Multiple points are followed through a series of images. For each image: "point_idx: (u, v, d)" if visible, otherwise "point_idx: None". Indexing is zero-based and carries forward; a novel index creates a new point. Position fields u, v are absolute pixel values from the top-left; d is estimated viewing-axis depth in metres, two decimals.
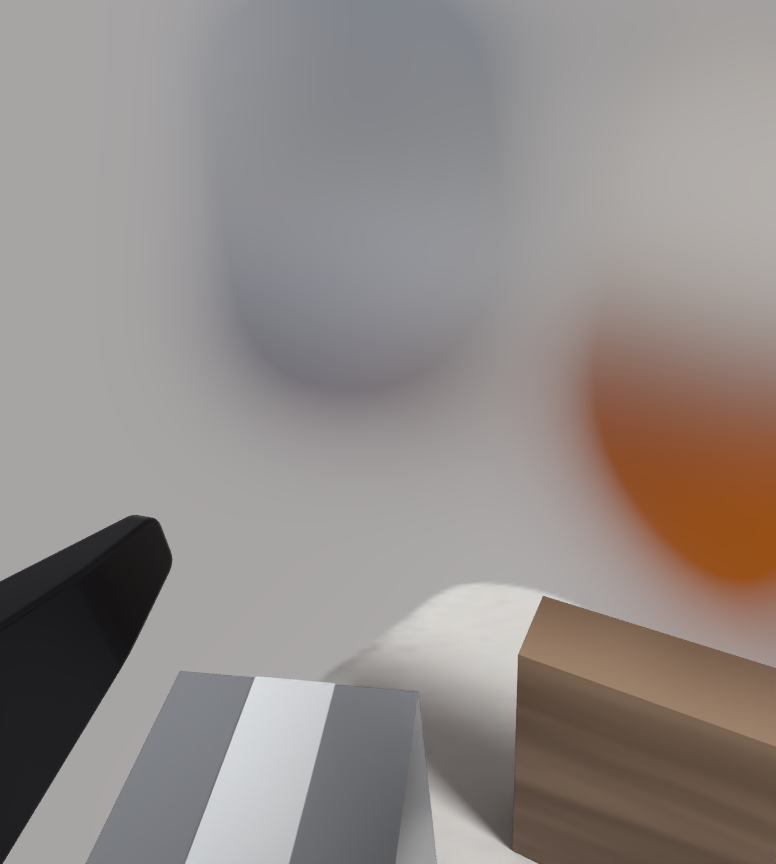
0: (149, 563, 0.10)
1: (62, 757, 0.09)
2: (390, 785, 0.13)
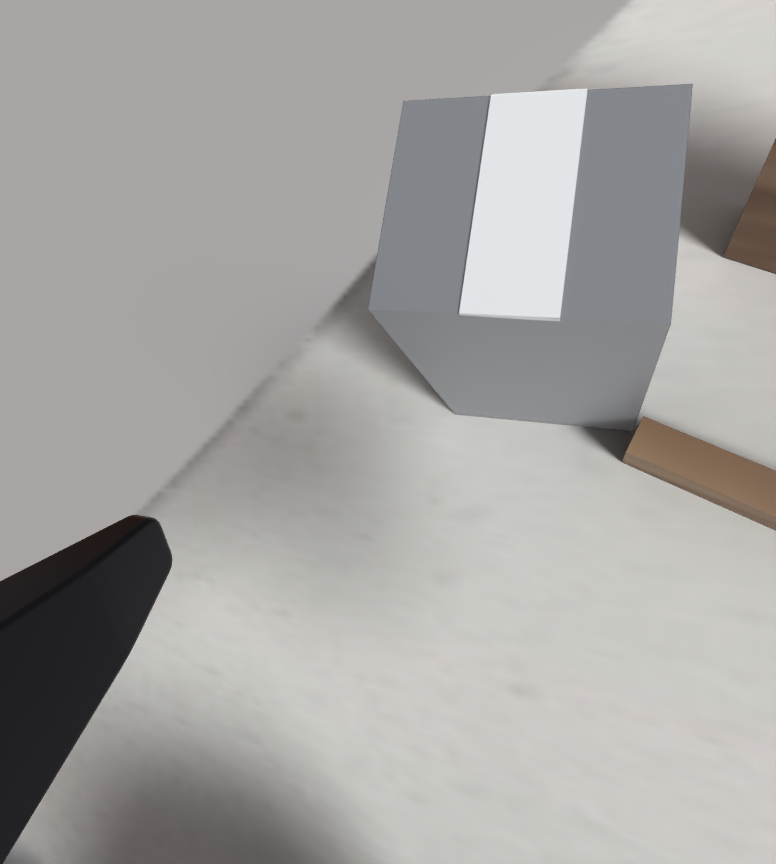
0: (149, 563, 0.10)
1: (62, 757, 0.09)
2: (665, 185, 0.13)
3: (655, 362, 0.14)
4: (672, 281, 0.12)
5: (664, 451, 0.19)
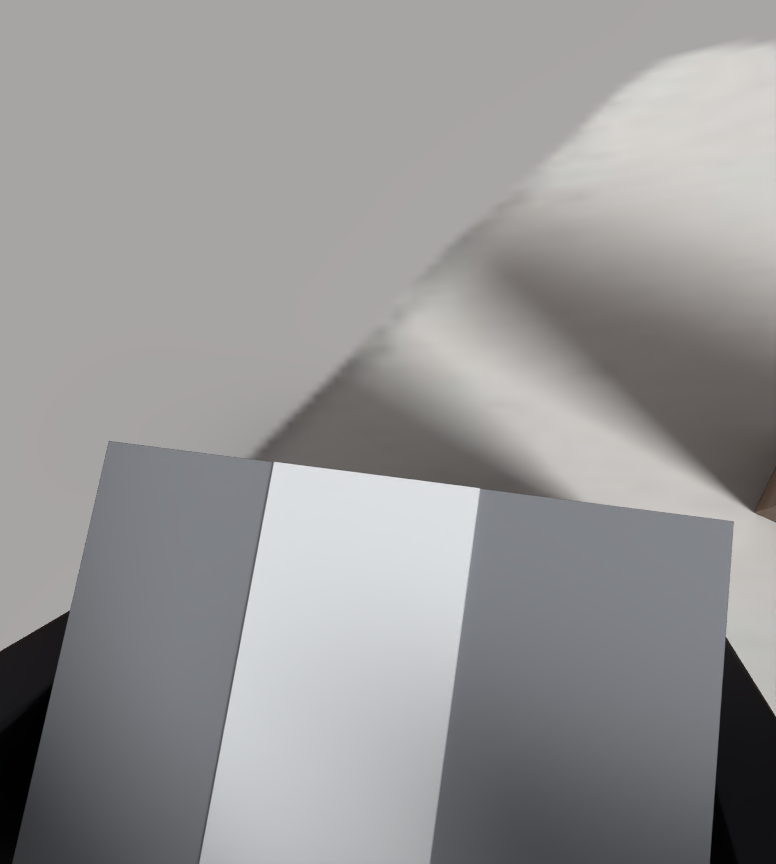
0: None
1: None
2: (666, 811, 0.05)
3: None
4: None
5: None
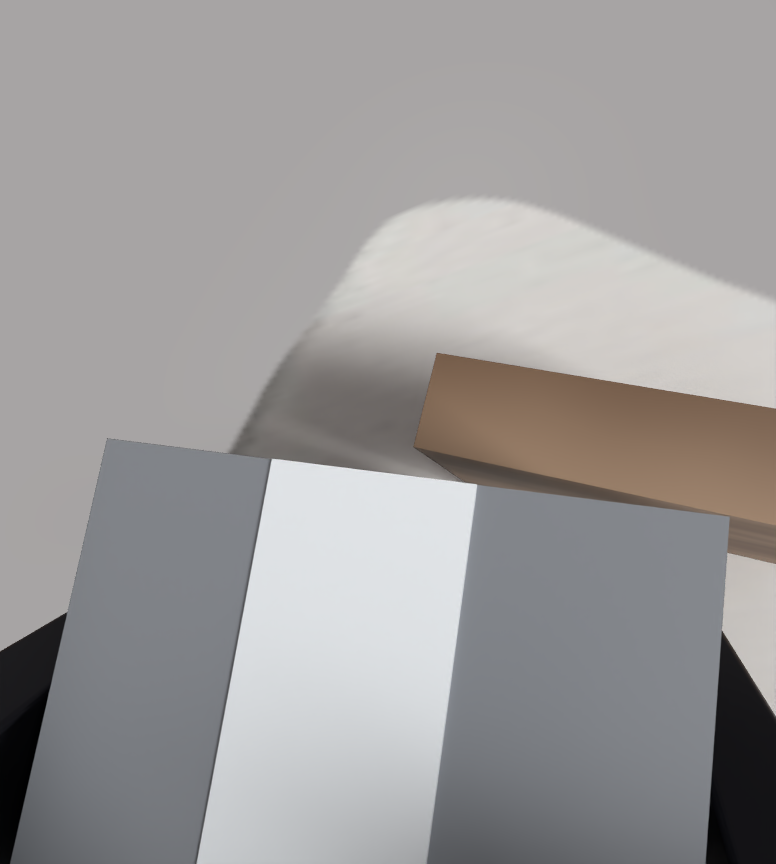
0: None
1: None
2: (662, 805, 0.05)
3: None
4: None
5: None
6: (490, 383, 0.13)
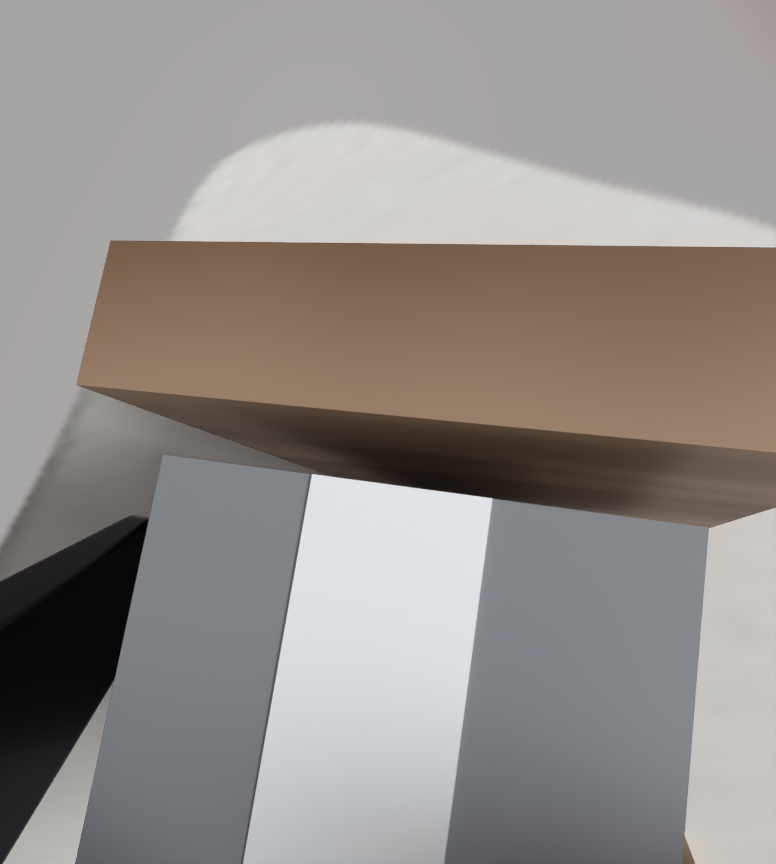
0: None
1: (62, 757, 0.09)
2: (649, 771, 0.06)
3: None
4: None
5: None
6: (181, 273, 0.08)
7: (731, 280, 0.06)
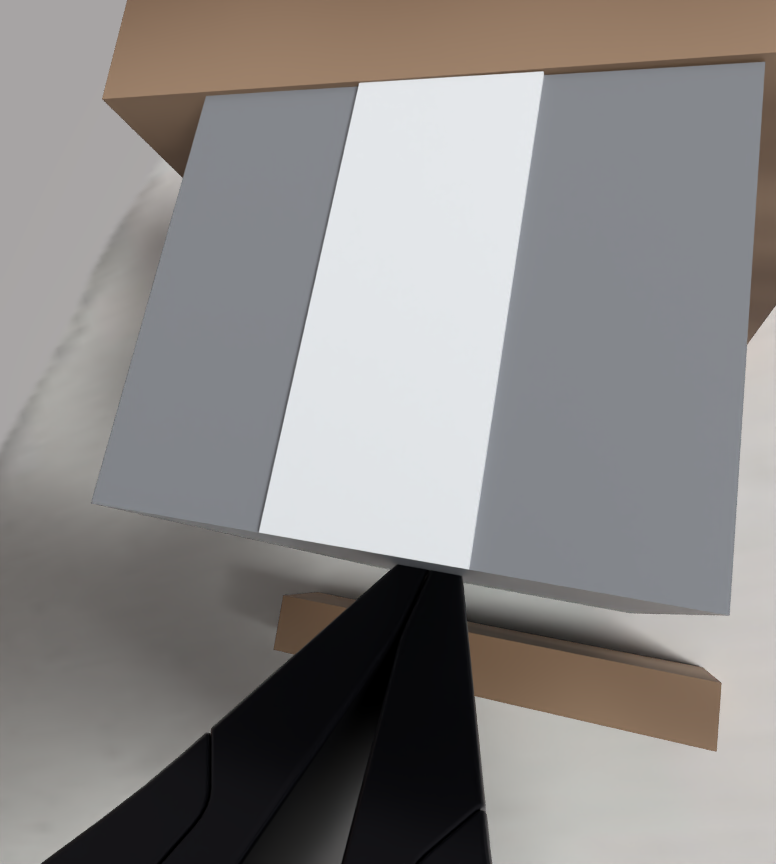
0: None
1: None
2: (710, 277, 0.06)
3: None
4: (731, 508, 0.05)
5: None
6: None
7: None
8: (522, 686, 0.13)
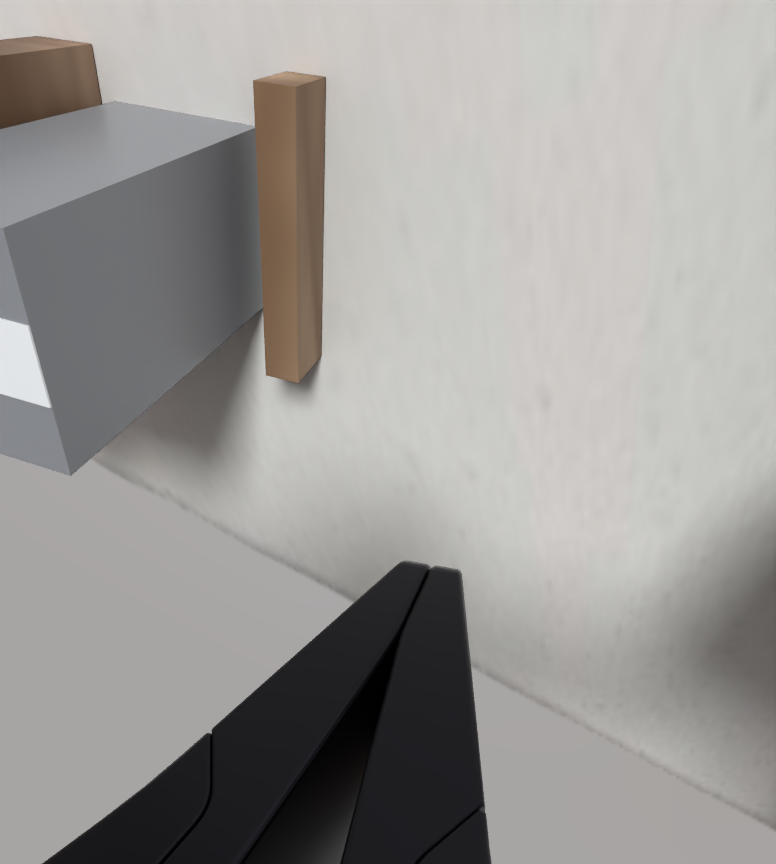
0: None
1: None
2: None
3: (91, 194, 0.14)
4: None
5: (284, 355, 0.21)
6: None
7: None
8: (284, 220, 0.19)
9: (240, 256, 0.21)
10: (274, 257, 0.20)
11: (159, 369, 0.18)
